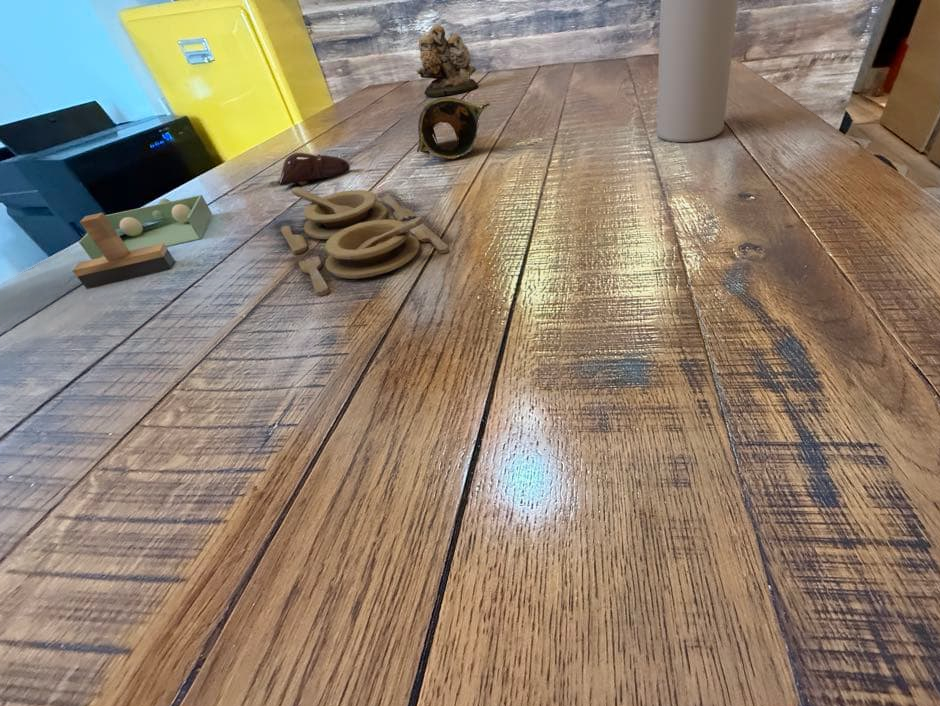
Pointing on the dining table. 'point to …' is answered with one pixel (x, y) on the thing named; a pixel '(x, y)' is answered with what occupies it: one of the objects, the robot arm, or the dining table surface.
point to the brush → (117, 256)
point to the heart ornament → (311, 168)
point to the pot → (455, 114)
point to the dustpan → (158, 225)
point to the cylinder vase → (694, 67)
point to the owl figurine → (445, 64)
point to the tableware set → (358, 235)
